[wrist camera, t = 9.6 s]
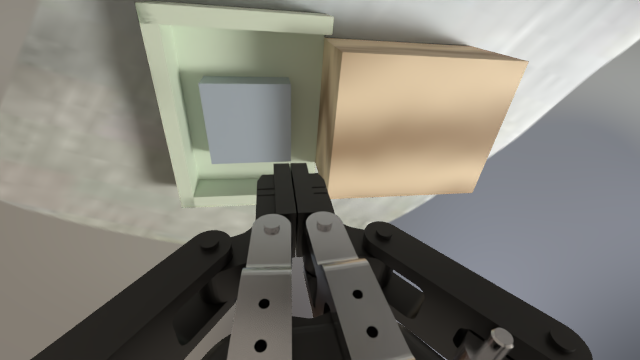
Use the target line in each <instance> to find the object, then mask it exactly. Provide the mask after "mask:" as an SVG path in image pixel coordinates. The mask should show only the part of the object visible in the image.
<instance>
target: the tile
mask: <svg viewBox="0 0 640 360" xmlns="http://www.w3.org/2000/svg"><path fill="white" fill-rule="evenodd" d="M198 85H199V91H200V97H201V103H202V109H203V115H204V121H205V127H206V133H207V139H208V145H209V151H210V157H211V162H212V164H231V163H259V162H288V161H291V83H290V80H289V77H236V76H203V77H202V79H201V80H200V82H199V83H198Z"/></svg>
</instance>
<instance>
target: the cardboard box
mask: <svg viewBox="0 0 640 360" xmlns="http://www.w3.org/2000/svg"><path fill="white" fill-rule="evenodd" d="M528 62H529V61H525V60H521V59H517V58H513V57H510V56H506V55H502V54H498V53H495V52H491V51H487V50H483V49H479V48H476V47H472V46H457V45H441V44H424V43H407V42H390V41H373V40H356V39H339V38H324V50H323V64H322V77H321V91H320V105H319V119H318V133H317V146H316V160H315V163H316V166H317V169H318V172H319V175H320V176H321V177H322V178H323V179H324V180H325V184H326V188H327V190H328V194H329V197H330V199H341V198H364V197H386V196H409V195H432V194H452V193H453V194H454V193H472V192H473V190H474V188H475V185H476V183H477V181H478V178H479V176H480V174H481V171H482V169H483V167H484V164H485V162H486V160H487V158H488V155H489V153H490V151H491V148H492V146H493V144H494V141H495V139H496V137H497V134H498V132H499V130H500V127H501V125H502V123H503V120H504V118H505V116H506V113H507V111H508V109H509V106H510V104H511V102H512V99H513V97H514V95H515V92H516V90H517V88H518V85H519V83H520V81H521V78H522V76H523V74H524V71H525V69H526V67H527V64H528Z"/></svg>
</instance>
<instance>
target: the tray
mask: <svg viewBox="0 0 640 360" xmlns="http://www.w3.org/2000/svg"><path fill="white" fill-rule="evenodd" d="M135 6H136V10H137V15H138V19H139V24H140V28H141V32H142V37H143V41H144V45H145V50H146V54H147V58H148V63H149V67H150V71H151V76H152V80H153V84H154V89H155V93H156V97H157V102H158V106H159V111H160V115H161V119H162V124H163V128H164V132H165V137H166V141H167V145H168V150H169V154H170V158H171V163H172V167H173V171H174V176H175V180H176V185H177V189H178V193H179V198H180V202H181V206H182V208H195V207H217V206H239V205H256V197H257V181H258V179H259V178H260V177H261V175H269V174H274V171H273V164H278V163H289V164H290V163H306V164H307V168H308V172H309V173H315V160H316V146H317V133H318V119H319V105H320V91H321V77H322V64H323V50H324V36H325V35H332V32H333V21H334V17H333V16H330V15H327V14H323V13H309V12H296V11H283V10H269V9H256V8H242V7H229V6H215V5H202V4H188V3H175V2H162V1H144V2H135ZM203 76H236V77H289V80H290V83H291V161H288V162H259V163H231V164H212V162H211V157H210V151H209V145H208V139H207V133H206V127H205V121H204V115H203V109H202V103H201V97H200V91H199V85H198V83H199V82H200V80H201V79H202V77H203Z"/></svg>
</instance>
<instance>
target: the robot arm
mask: <svg viewBox="0 0 640 360" xmlns="http://www.w3.org/2000/svg"><path fill="white" fill-rule="evenodd" d="M273 171H274V174H269V175H261V177H260V178H259V179H258V181H257V197H256V221H255V222H254V223H253V226H252V228H251V229H249V230H248V231H246V232H245V233H243V234H240V235H237V236H234V237H230V236H229V235H228V234H227V233H225V232H222V231H218V230H211V231H206V232H203V233H200V234H198V235H197V236H195V237H194V238H192V239H191V240H190V241H188V242H187V243H186V244H184V245H183V246H182V247H180V248H179V249H178V250H176V251H175V252H174V253H172V254H171V255H170V256H168V257H167V258H166V259H164V260H163V261H162V262H160V263H159V264H158V265H156V266H155V267H154V268H152V269H151V270H150V271H148V272H147V273H146V274H144V275H143V276H142V277H140V278H139V279H138V280H136V281H135V282H134V283H132V284H131V285H130V286H128V287H127V288H126V289H124V290H123V291H122V292H120V293H119V294H118V295H116V296H115V297H114V298H112V299H111V300H110V301H108V302H107V303H106V304H104V305H103V306H102V307H100V308H99V309H97V310H96V311H95V312H94V313H92V314H91V315H90V316H88V317H87V318H86V319H84V320H83V321H82V322H80V323H79V324H78V325H76V326H75V327H74V328H72V329H71V330H69V331H68V332H67V333H65V334H64V335H63V336H62V337H60V338H59V339H57V340H56V341H55V342H54V343H52V344H51V345H49V346H48V347H47V348H45V349H44V350H43V351H41V352H40V353H39V354H37V355H36V356H35V357H34V358H32V359H31V360H184V359H185V358H186V357H187V356H188V354H189V353H190V352H191V351H192V350H193V349H194V348H195V347H196V346H197V344H198V343H199V342H200V341H201V340H202V339H203V338H204V337H205V335H206V334H207V333H208V332H209V331H210V330H211V329H212V328H213V327H214V326H215V325H216V324H217V322H218V321H219V320H220V319H221V318H222V317H223V316H224V315H225V313H226V312H227V311H228V310H229V309H230V308H231V307H232V306H233V305H234V303H235V302H236V300H237V303H236V308H235V314H234V320H233V326H232V333H231V334H230V335H228V336H227V337H225V338H224V339H222V340H221V341H220V342H218V343H217V344H216V345H215V346H214V347H213V348H212V349H211V350H210V351H209V352H207V354H206V355H205V356H204V357H203V358H202V360H445V359H444V358H442V357H441V356H440V355H438V353H439V354H441V355H442V356H443V357H445V358H446V359H447V360H593V358H592V354H591V352H590V350H589V348H588V346H587V345H586V344H585V342H584V341H583V340H582V339H581V338H580V336H579V335H578V334H576V333H575V332H574V331H573V330H572V329H570V328H569V327H567V326H566V325H564V324H562V323H561V322H559V321H557V320H555V319H554V318H552V317H550V316H548V315H547V314H545V313H543V312H542V311H540V310H538V309H537V308H535V307H533V306H531V305H530V304H528V303H526V302H524V301H523V300H521V299H519V298H518V297H516V296H514V295H512V294H511V293H509V292H507V291H505V290H504V289H502V288H500V287H499V286H496V285H495V284H493V283H492V282H490V281H488V280H487V279H484V278H483V277H481V276H480V275H478V274H476V273H475V272H472V271H471V270H469V269H468V268H466V267H464V266H462V265H461V264H459V263H457V262H455V261H454V260H452V259H450V258H449V257H447V256H445V255H444V254H442V253H440V252H438V251H437V250H435V249H433V248H431V247H430V246H428V245H426V244H425V243H423V242H421V241H419V240H418V239H416V238H414V237H412V236H411V235H409V234H407V233H406V232H404V231H402V230H400V229H399V228H397V227H395V226H394V225H391V224H389V223H386V222H379V221H378V222H372V223H370V224H368V225H367V226H366V228H365V230H363V229H357V228H352V227H349V226H346V225H344V224H343V222H342V220H341V219H340V218H339V217H338V216H337V215H335V213H334V210H333V206H332V203H331V200H330V197H329V194H328V190H327V188H326V184H325V180H324V179H323V178H322V177H321V176H320V175H319V174H318V173H309V172H308V168H307V164H306V163H290V164H289V163H278V164H273ZM295 248H296V256H297V257H303V262H304V266H303V275H304V279H305V284H306V288H307V292H308V297H309V301H310V305H311V310H312V314H313V318H310V319H308V318H301V317H293V316H292V280H291V279H292V274H291V272H292V271H291V270H292V258H293V257H295ZM393 270H395V271H396V272H398V273H400V274H401V275H402V276H404V277H405V278H407V279H408V280H410V281H411V282H413V283H414V284H416V285H417V286H418V287H420V289H421V290H422V291H423V292H421V291H420V290H418V289H417V288H415V287H414V286H412V285H411V284H409V283H408V282H406V281H405V280H403V279H402V278H401V277H399V276H398V275H396V274H395V273H393ZM395 319H396V320H397V321H398V322H400V323H401V324H402V325H401V324H400V323H398V322H396V320H395ZM404 326H405V327H404ZM408 329H409V330H408ZM413 333H414V334H413ZM417 336H418V337H419V338H420V339H419V338H418V337H417ZM422 340H423V341H424V342H425V343H424V342H423V341H422ZM426 343H427V344H428V345H429V346H430V347H432V348H433V349H434V350H436V351H437V352H438V353H436V352H435V351H434V350H432V348H430V347H429V346H428V345H427V344H426Z"/></svg>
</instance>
